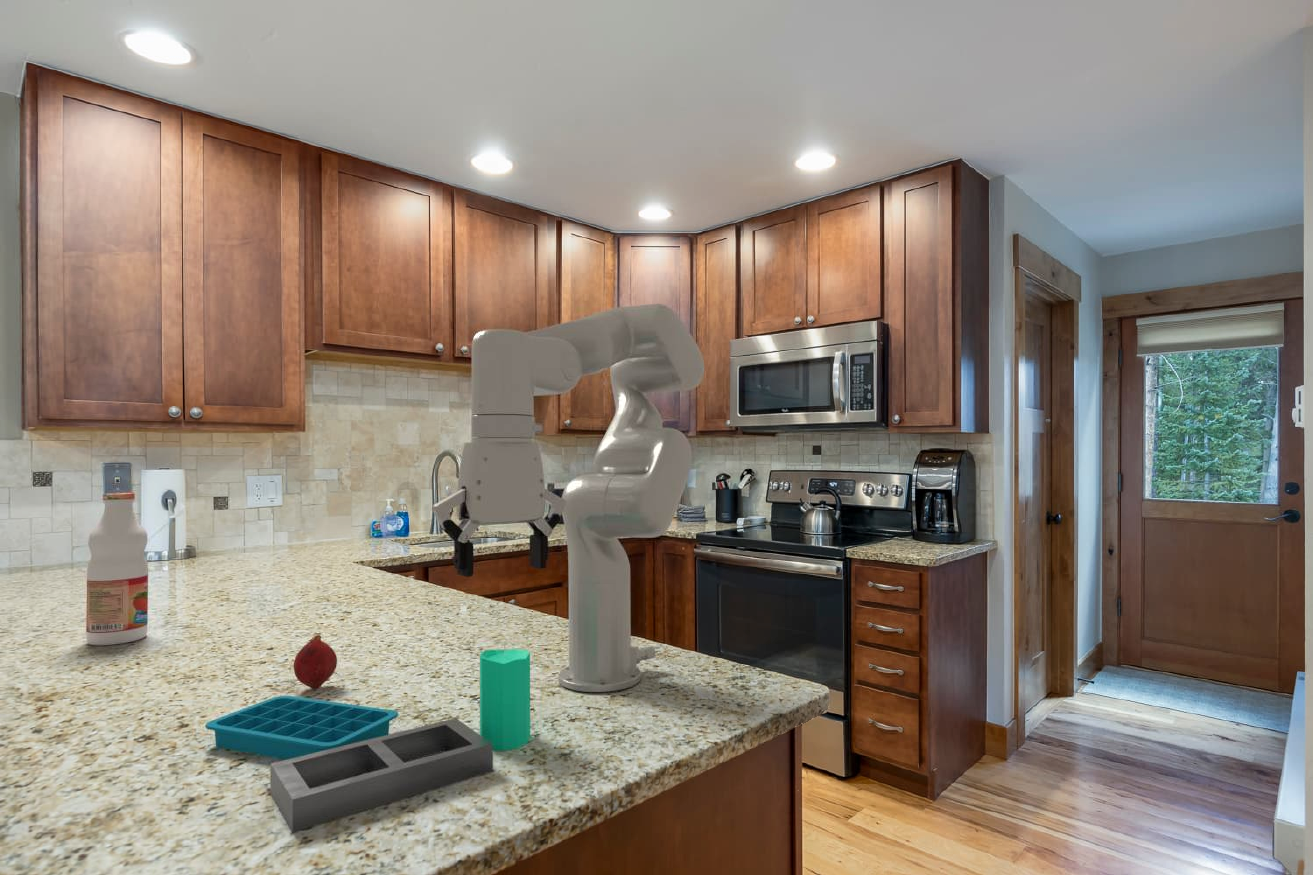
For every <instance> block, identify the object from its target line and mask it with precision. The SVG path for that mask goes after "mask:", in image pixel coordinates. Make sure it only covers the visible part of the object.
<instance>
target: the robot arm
mask: <svg viewBox="0 0 1313 875" xmlns="http://www.w3.org/2000/svg"><path fill="white" fill-rule="evenodd" d="M609 368H610V369H609ZM607 369H609V375H610V383H611V389H612V395H613V400H614V405H615V413H614V415H613V418H612V420H611V422H610V425H608V428H607V429H606V431H605V434H604V436H603V438H602V439H601V441H600V443H599V445H598V448H597V450H596V452H595V455H594V459H593V468H594V471H595V473H590V474H585V475H584V474H583V475H580V476H577V477H575V478H573V479H572V480H570V481H569V482H568V483H567V484H566V486H565V487H564V490H563V492H562V495H561V496H559V495H557V494H555V493H553V491H552V492H551V491H550V490H548V489H546V487H545V476H544V475H545V474H544V468H543V459H542V455H541V450H540V447H539V446H540V445H539V443H538V442H534V441H535V440H534V439H536V435H537V434H542V433H543V425H542V423H538V422H536V417H534V414H535V411H534V405H535V404H534V402H535V401H534V396H535V397H536V396H537V397H538V396H554V395H555V396H556V395H561V394H564V393H568V392H569V391H571V390H574V388H575V387H576V386H577V385H578V383H579V381H580V379H581V378H582V377H585V376H591V375H596V374H598V373H600V372H603V371H604V370H607ZM704 376H705V362H704V356H703V353H702V351H701V349H700V347H699V345H698V343H697V342H696V341H695V338H694V337H693V336H692V334H691V333H690V331H689V329H688V327H687V326H686V325H685V324H684V321H683V319H681V318H680V316H679V315H678V314H677V313H676V312H675V311H674V310H673V309H672V308H670V306H667V305H665V304H663V303H652V304H642V305H641V304H640V305H631V306H620V307H613V308H609V309H606V310H603V311H599V312H597V313H594V314H591V315H588V316H584V317H582V318H578V319H574V320H571V321H567V322H562V323H557V324H555V325H551V326H547V327H543V328H540V329H535V330H530V331H526V332H523V331H520V330H516V329H507V328H495V329H494V328H493V329H492V328H491V329H485V330H481V331H478V332H477V333H476V334H474V336H473V339H472V340H471V424H470V426H471V432H470V434H471V435H470V436H471V437H470V438H471V439H470V441H471V442H464V444H463V449H462V453H461V457H460V458H461V459H460V463H459V471H458V479H457V489H456V490H457V491H455V492H454V493H452V494H450V495H448V496H447V497H445V498H443V499H442V500H440V501H438V502H437V503H434V504H433V505H432V507H431V511H432V513H433V515H434V517H435V518H436V521H437V522H438V525H439V528H440V529H441V530H442V532H444V533H446V535H448V536H449V538H450V541H453V542H454V543H453V544H454V545H453V547H454V548H453V552H454V553H453V554H454V555H453V557H454V558H453V561H454V562H453V564H454V565H453V566H454V568H455V570H456V571H457V572H456V573H457V574H458V576H462V577H466V578H469V577H472V576H474V543H473V542H471V541H470V539H471V537H472V536H473V535H474V533H475V532H476V530H477V529H478V528H479V527H480V526H493V525H494V526H495V525H510V524H512V525H513V524H525V523H526V524H527V526H528V527H529V528H530V529H531V531H532V532H533V533H532V534H530V536H529V566H530V567H532V568H537V569H540V570H541V569H542V570H543V569H547V561H548V559H549V537H550V536H551V535H552V534H553V530H554V529H555V527H556V526H557V525H558V524H559V523H560V521H561V516H562V521H563V525H564V529H565V531H564V532H565V535H566V543H567V554H568V555H567V560H568V562H567V564H568V666H566V667H564V668H562V670H560V671H559V673H558V683H559V684H560V685H561V686H563V687H564V688H566V689H569V690H572V691H577V692H583V693H607V692H615V691H620V690H625V689H627V688H630V687H633V686H635V685H637V684H639V682H640V681H641V679H642V673H641V670H640V668H639V667H638V666H637V665H639V664H640V663H641V661H647V660H652V659H654V658H656V655H657V652H656V649H655V647H654V646H652V645H650V646H645V647H641V648H639V646H637V645H635V646H632V644H631V641H632V640H631V639H632V636H631V635H632V634H631V631H632V630H631V628H632V627H631V564H630V561H629V557H628V555H627V553H626V550H625V549H624V547H623V545H622V544H621V542H620V541H619V539H618V538H637V539H638V538H641V539H643V538H645V539H646V538H647V539H648V538H649V539H650V538H651V539H652V538H658V537H661V536H662V535H664V534H665V533H666V532H667V531H668V529H670V526H671V524H672V522H673V520H674V517H675V515H676V513H677V510H678V507H679V504H680V502H681V499H682V496H683V494H684V492H685V489H686V487H687V486H686V485H687V483H688V480H689V477H690V473H691V468H692V448H691V444H690V441H689V439H688V438H687V436H686V435H685V434H684V433H683V432H682V431H680V430H679V429H675V428H671V427H669V428H668V427H663V419H662V416H661V413H660V412H659V411H658V409H657V407H656V406H655V405H654V403H653V402H652V401H651V400H650V399H649V398H648V397H647V395H646V393H666V392H668V393H670V392H684V391H691V390H693V389H696V388H697V387H698V386H700V385H701V383H702V381H703V379H704ZM546 503H547V504H549V506H550V509H549V512H548V513H547V514H546V515H545V512H546V511H545V510H546ZM454 508H456V509H455V511H456V512H455V513H456V518H457V519H458V520H459V522H458V523H456V522H455V521H454V520H453V519H452V518H451V515H450V511H451V510H452V509H454ZM544 515H545V516H544Z"/></svg>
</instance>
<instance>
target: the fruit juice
mask: <svg viewBox="0 0 1313 875" xmlns="http://www.w3.org/2000/svg"><path fill="white" fill-rule="evenodd" d="M102 495H103V496H102V500H103V501H102V502H103V504H104V510H103V514H102V517H101V519H100V522H99V523H98V524H97V526H96V527H95V528H94V529H93V530H92V531H91V532H90V534H89V536H88V541H87V544H88V545H87V546H88V548H89V552H90V555H91V556H90V561H89V562H88V565H87V569H86V611H85V612H86V614H85V615H86V617H85V618H86V619H85V620H86V626H85V628H86V629H85V637H86V642H87V644H88V645H90V646H114V645H119V644H120V645H121V644H127V643H132V642H135V641H139V640H142V639H144V638H146V636H147V633H148V622H149V620H148V619H149V618H148V617H149V615H148V612H149V611H148V609H149V608H148V607H149V606H148V605H149V603H148V602H149V601H148V600H149V598H148V596H149V564H148V563H149V562H148V558H147V557H146V554H145V550H146V547H147V545H148V534H147V533H148V532H147V530H146V529H145V527H143V526H142V525H141V524H140V523H139V522H138V520H137V517H136V514H135V512H134V508H133V505H134V504H133V503H134V502H135V499H136V496H135V493H134V492H115V493H113V492H112V493H104V494H102Z"/></svg>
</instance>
